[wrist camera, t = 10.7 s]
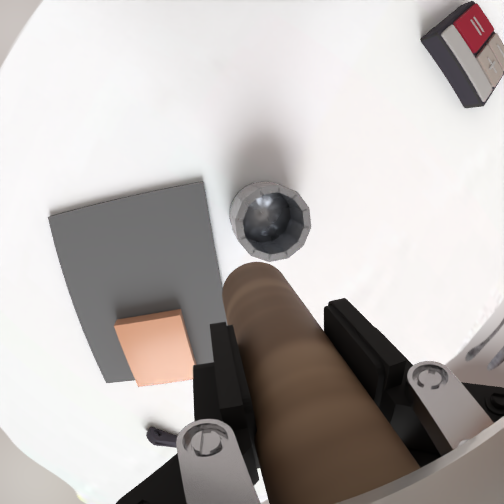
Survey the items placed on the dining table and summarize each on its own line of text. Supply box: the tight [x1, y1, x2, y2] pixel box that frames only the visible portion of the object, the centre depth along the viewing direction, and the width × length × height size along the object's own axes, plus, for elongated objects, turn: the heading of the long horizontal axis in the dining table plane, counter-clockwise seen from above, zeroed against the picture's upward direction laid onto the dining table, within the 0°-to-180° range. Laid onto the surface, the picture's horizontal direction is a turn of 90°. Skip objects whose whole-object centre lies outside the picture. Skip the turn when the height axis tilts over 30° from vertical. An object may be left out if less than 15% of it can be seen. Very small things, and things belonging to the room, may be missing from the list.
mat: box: [48, 182, 228, 383], centre depth 30 cm, size 20×16×1 cm
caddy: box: [230, 182, 311, 262], centre depth 28 cm, size 6×6×5 cm
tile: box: [114, 309, 197, 387], centre depth 31 cm, size 2×7×8 cm
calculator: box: [421, 1, 504, 108], centre depth 27 cm, size 11×4×15 cm
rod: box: [222, 262, 421, 504], centre depth 9 cm, size 3×3×14 cm
